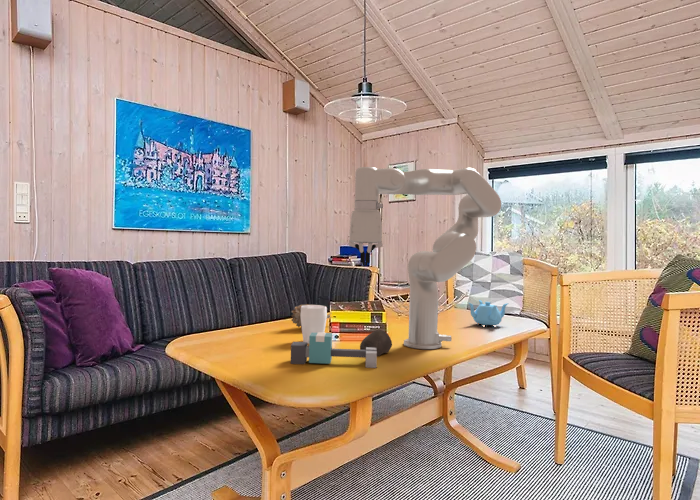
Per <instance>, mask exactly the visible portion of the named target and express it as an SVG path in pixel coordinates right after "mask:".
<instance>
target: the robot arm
mask: <svg viewBox="0 0 700 500" xmlns="http://www.w3.org/2000/svg"><path fill="white" fill-rule="evenodd" d="M354 181H355V182H354V210H352V212H351V215H350V223H349V240H348V246H349V247H352V248H356V250H358V251H359V253H360V260H359V263H361V264H362V266H367V267H368V264H370V263H371V260H370V259H371V252H373V251H374V250H375V249H378V248H381V247H383V241H382V239H383V223H382V214H381V211H379V210H380V209H384V204H383V203H380V202H379V201H380V200H379V197H380V195H413V196H416V195H417V196H419V195H420V196H425V195H427V196H429V195H430V196H435V195H437V196H439V195H440V196H457V195H464V196H463V197H462V198H461V199H460V201H459V204H458V217H457V221H456V222H455V223H454V224H453V225H451V227H450V228H449V229H447V230H446V231H445V232H444V233H442V234H441V235H440V236H439V237H438V238H436V239H435V241H434V242H433V244H432V251H426V250H425V251H424V250H423V251H417V252H415V253H413V254H412V255H411V256H410V258H409V260H408V263H407V273H408V274H407V275H408V280H409V306H408V307H409V308H408V309H409V311H408V312H409V313H408V318H409V319H408V338H406V339H404V340H403V346H405V347H408V348H411V349H418V350H436V349H439V348H441V347H443V346H442V344H443V343H442V342H452V335H447V334H440V333H439V331H438V317H439V288H438V284H437V283H444V282H446V281H449V280H450V279H452V278H453V277H454V276H455V275H456V274H457V273H459V272H460V271H461V270H462V269H463V268H465V266H467V265H468V264H469V263H470V262H471V261H472V260H473V258H474V256H475V255H476V252H477V242H476V240H475V239H476V238H477V236H478V234H479V218H490V217H491V218H492V217H494V216H497V214H499V212H500V211H501V208H502V201H501V197H500V196H499V194H498V193H497V191H496V190H495V189H494V188H493V187H492V185H491V184H490V183H489V182H488V181H487V179H485V178H484V177H483V175H482V174H481V173H479V172H478V171H477V170H476V169H475V168H472V167H465V168H459V169H435V168H423V169H422V168H421V169H416V170H412V171H411V170H409V171H402V170H401V169H399V168H395V167H390V168H389V167H387V168H385V167H384V168H377V167H373V166H362V167H361V166H360V167H358V168H356V169H355V176H354ZM466 194H467V195H466ZM364 244H367V249H366V251H365V250H364Z"/></svg>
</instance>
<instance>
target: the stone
mask: <svg viewBox="0 0 700 500" xmlns="http://www.w3.org/2000/svg"><path fill="white" fill-rule="evenodd" d="M391 339H392V338H391V337H390V335H389V334H388V333H387V332H385V330H383V329H377V330H374V331H372V332H371V333H369V334H367V335H366V336H365V337H364V338H363V339H362V340H361V342H360V345H359V350H366V347H371V348H376V349H377V357H380V356H381V355H383V354H388V353H389V352H390V350H391V349H392V346H393V342H392V340H391Z"/></svg>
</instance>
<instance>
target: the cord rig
mask: <svg viewBox="0 0 700 500" xmlns="http://www.w3.org/2000/svg"><path fill="white" fill-rule="evenodd" d="M331 356H332V357H333V358H334V357H336V358H337V357H341V358H364V359H365V368H368V369H376V368H377V365H378V364H377V361H378V358H377V357H378V356H377V349H376V348H371V347H366V350H360V348H359V349H357V348H356V349H355V348H354V349H353V348H332V349H331ZM308 358H309V345H308V343H307V342H303V341H293V342H292V343H291V344H290V365H306V363H307V360H308Z"/></svg>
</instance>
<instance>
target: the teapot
mask: <svg viewBox="0 0 700 500" xmlns="http://www.w3.org/2000/svg"><path fill="white" fill-rule="evenodd" d="M478 302H479V305H478V306H477V307H476V309H475V308H474V304H473V303H471V302H468V304H469V306H470V316H471V317H472V318H473V321H474V323H477V324H478V323H479V324H482V325H486V326H492V325H497V326H498V325H499V324H500V323H501V322H502V320H503V318H504V316H505V314H506V307H507V306H508V305H509V303H507V302H506V303H504V304H503V305H502V306H501V310H500V309H499V308H498V307H497V306H498V305H495V304H491V301H485V302H484V303H483V301H482V300H481V299H478ZM482 325H481V326H482Z"/></svg>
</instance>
